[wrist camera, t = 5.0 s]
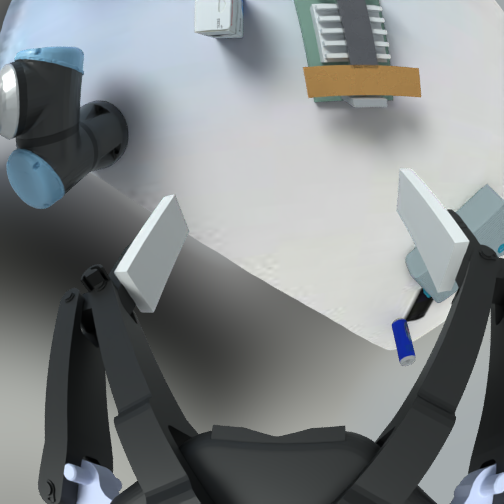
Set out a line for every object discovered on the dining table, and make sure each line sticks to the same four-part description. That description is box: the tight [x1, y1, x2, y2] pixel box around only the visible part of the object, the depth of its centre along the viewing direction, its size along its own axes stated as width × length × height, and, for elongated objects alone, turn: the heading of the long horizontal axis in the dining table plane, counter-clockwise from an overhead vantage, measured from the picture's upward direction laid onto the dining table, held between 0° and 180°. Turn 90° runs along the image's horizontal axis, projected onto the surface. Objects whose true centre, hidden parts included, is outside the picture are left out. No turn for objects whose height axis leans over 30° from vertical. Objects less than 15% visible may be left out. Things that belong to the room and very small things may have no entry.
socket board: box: [294, 0, 393, 107], centre depth 27 cm, size 14×24×12 cm, turn 12°
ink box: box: [194, 0, 243, 38], centre depth 27 cm, size 8×5×12 cm, turn 179°
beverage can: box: [392, 318, 415, 366], centre depth 70 cm, size 5×5×15 cm
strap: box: [303, 0, 421, 98], centre depth 25 cm, size 17×20×2 cm
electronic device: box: [406, 184, 504, 303], centre depth 50 cm, size 17×31×10 cm, turn 145°
